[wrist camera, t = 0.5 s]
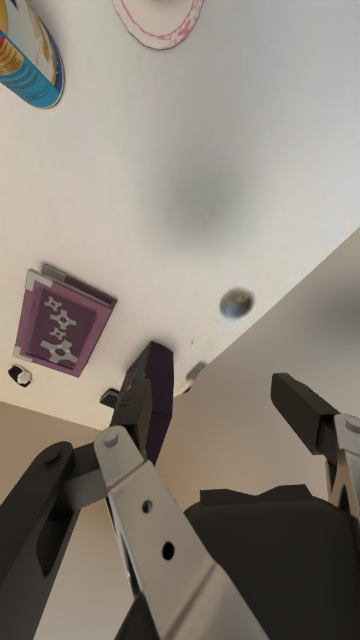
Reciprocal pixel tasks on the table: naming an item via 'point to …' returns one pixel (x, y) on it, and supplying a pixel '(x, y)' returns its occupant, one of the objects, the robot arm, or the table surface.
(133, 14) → the teacup
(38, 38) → the beverage bottle
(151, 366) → the decorative box
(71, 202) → the table surface
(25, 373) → the watch
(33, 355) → the book
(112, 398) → the external hard drive
